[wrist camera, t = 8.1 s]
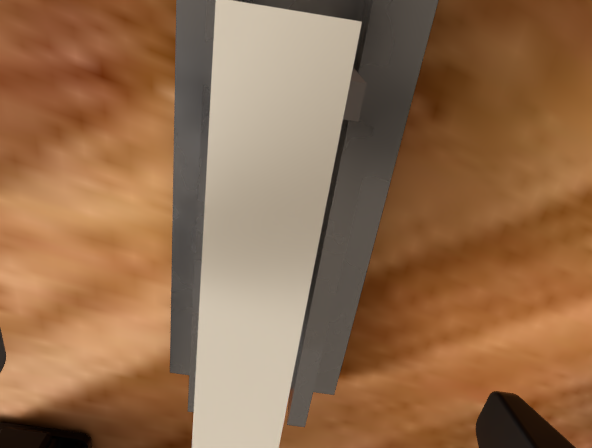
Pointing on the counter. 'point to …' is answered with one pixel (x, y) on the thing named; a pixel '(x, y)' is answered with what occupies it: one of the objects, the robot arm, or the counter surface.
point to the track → (343, 188)
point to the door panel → (265, 208)
